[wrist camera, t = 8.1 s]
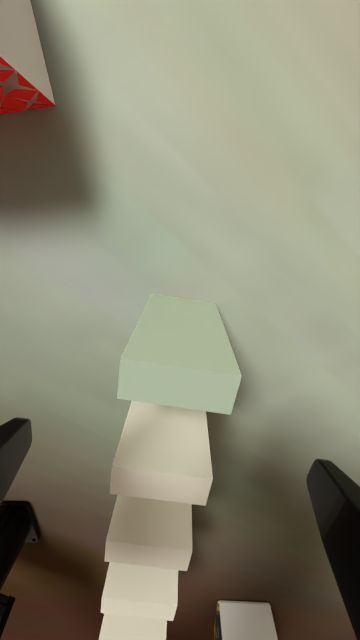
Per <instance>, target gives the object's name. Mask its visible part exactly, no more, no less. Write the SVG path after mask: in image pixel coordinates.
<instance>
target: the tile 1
mask: <svg viewBox="0 0 360 640" xmlns="http://www.w3.org/2000/svg"><path fill="white" fill-rule="evenodd" d="M166 629H167V620H160V619H151V618H142V617H133V616H124V615H115V614H106V613H104V617H103V622H102V627H101V632H100V636H99V640H166Z"/></svg>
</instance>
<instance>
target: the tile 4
mask: <svg viewBox="0 0 360 640" xmlns="http://www.w3.org/2000/svg"><path fill="white" fill-rule="evenodd" d="M212 481H213V475H212V465H211V456H210V446H209V436H208V426H207V417H206V411H201V410H194V409H187V408H180V407H173V406H166V405H159V404H152V403H145V402H138V401H132V402H131V405H130V408H129V412H128V415H127V418H126V421H125V425H124V428H123V431H122V435H121V438H120V441H119V445H118V448H117V451H116V454H115V458H114V461H113V464H112V473H111V486H110V494H116V495H124V496H132V497H140V498H147V499H155V500H163V501H171V502H179V503H187V504H195V505H203V506H205V505H206V502H207V498H208V495H209V491H210V488H211V484H212Z"/></svg>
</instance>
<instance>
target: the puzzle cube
mask: <svg viewBox="0 0 360 640" xmlns="http://www.w3.org/2000/svg"><path fill="white" fill-rule="evenodd" d="M48 106H55V102H54V98H53V94H52V89H51V85H50V81H49V77H48V73H47V68H46V64H45V60H44V56H43V52H42V47H41V43H40V39H39V35H38V31H37V26H36V22H35V18H34V14H33V10H32V5H31V1H30V0H0V114H4V113H11V112H17V111H23V110H29V109H35V108H42V107H48Z"/></svg>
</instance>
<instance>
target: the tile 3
mask: <svg viewBox="0 0 360 640" xmlns="http://www.w3.org/2000/svg"><path fill="white" fill-rule="evenodd" d="M191 555H192V504H187V503H179V502H171V501H163V500H155V499H147V498H140V497H132V496H124V495H117V499H116V503H115V507H114V511H113V515H112V519H111V523H110V527H109V531H108V535H107V539H106V548H105V561H106V562H114V563H123V564H131V565H139V566H148V567H156V568H165V569H173V570H182V571H187V569H188V565H189V562H190V558H191Z"/></svg>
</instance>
